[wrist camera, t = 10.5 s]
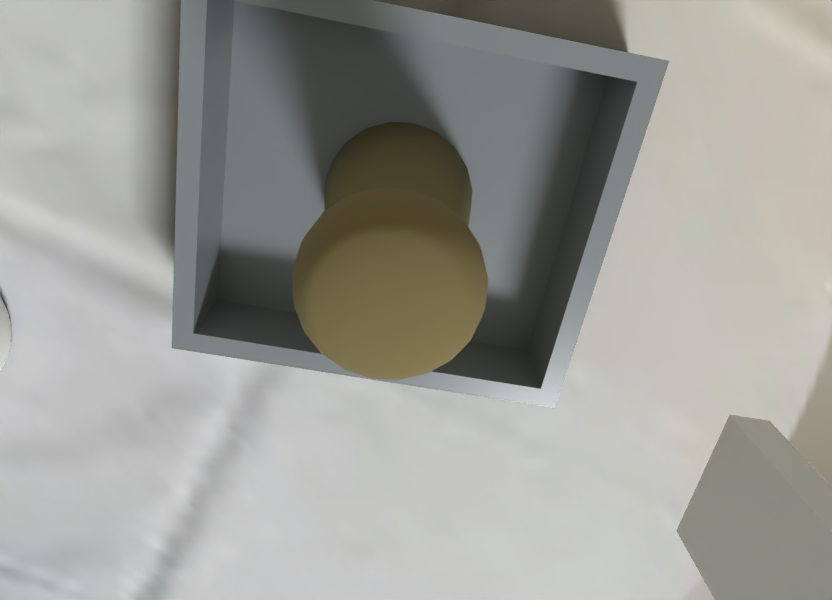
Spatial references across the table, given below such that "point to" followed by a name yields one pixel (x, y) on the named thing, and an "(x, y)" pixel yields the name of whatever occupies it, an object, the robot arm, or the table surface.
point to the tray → (408, 103)
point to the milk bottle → (4, 334)
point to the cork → (392, 256)
